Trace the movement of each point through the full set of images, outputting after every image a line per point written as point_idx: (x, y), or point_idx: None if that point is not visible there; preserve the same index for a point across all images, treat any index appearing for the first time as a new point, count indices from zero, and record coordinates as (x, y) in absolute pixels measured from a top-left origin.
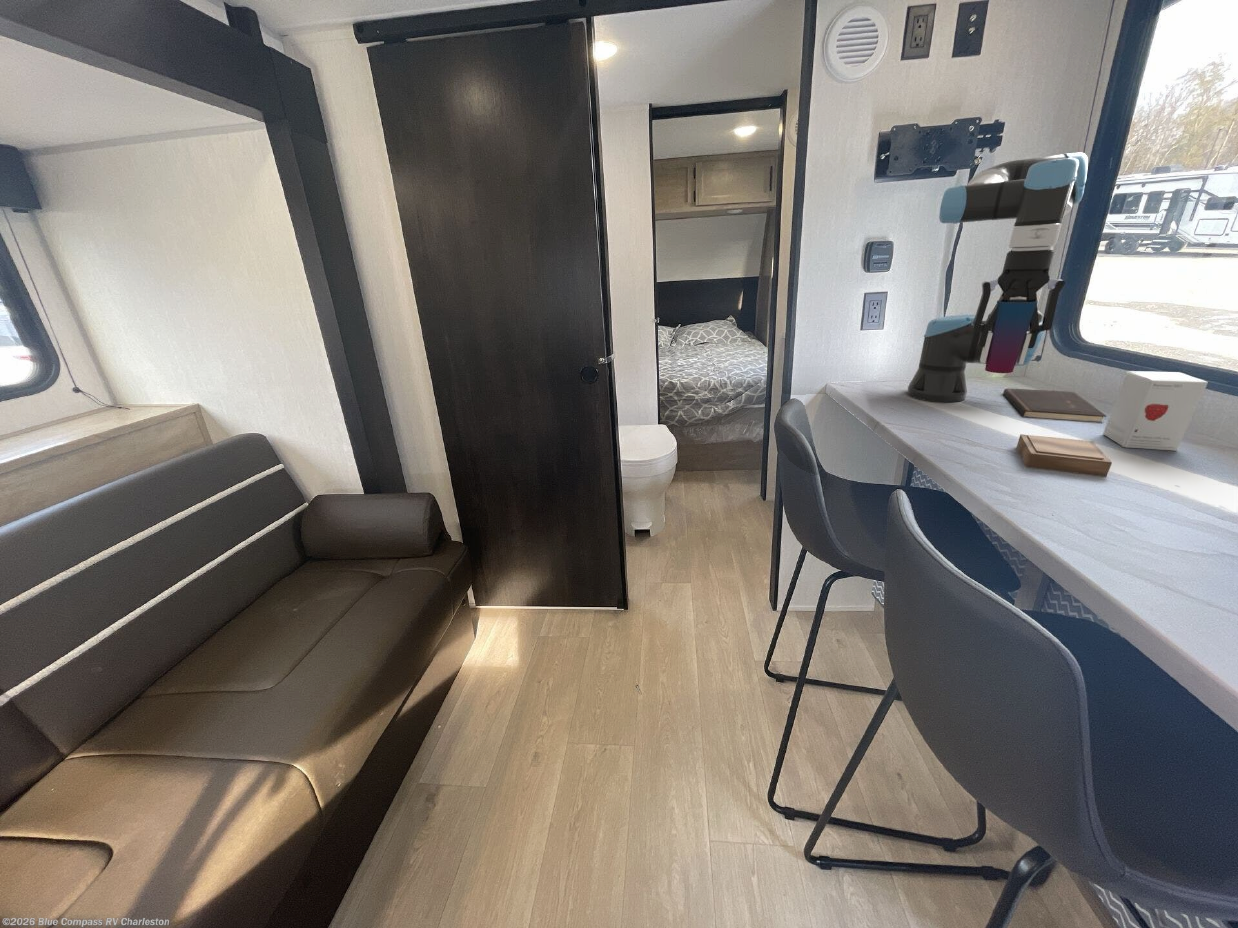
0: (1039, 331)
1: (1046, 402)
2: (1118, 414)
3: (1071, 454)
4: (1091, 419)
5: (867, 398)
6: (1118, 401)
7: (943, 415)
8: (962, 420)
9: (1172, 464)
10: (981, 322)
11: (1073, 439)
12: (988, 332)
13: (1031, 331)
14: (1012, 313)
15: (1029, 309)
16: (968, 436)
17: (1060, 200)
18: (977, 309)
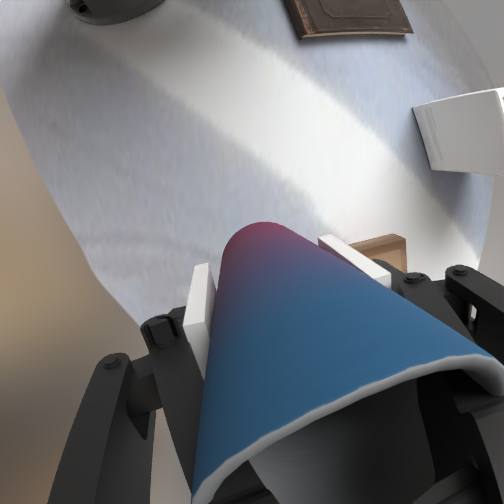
0: None
1: None
2: (446, 127)
3: None
4: (394, 33)
5: (8, 86)
6: (456, 108)
7: (152, 109)
8: (193, 125)
9: (460, 219)
10: (153, 431)
11: (383, 254)
12: (200, 372)
13: None
14: (318, 489)
15: (410, 468)
16: (222, 238)
17: None
18: (70, 444)
